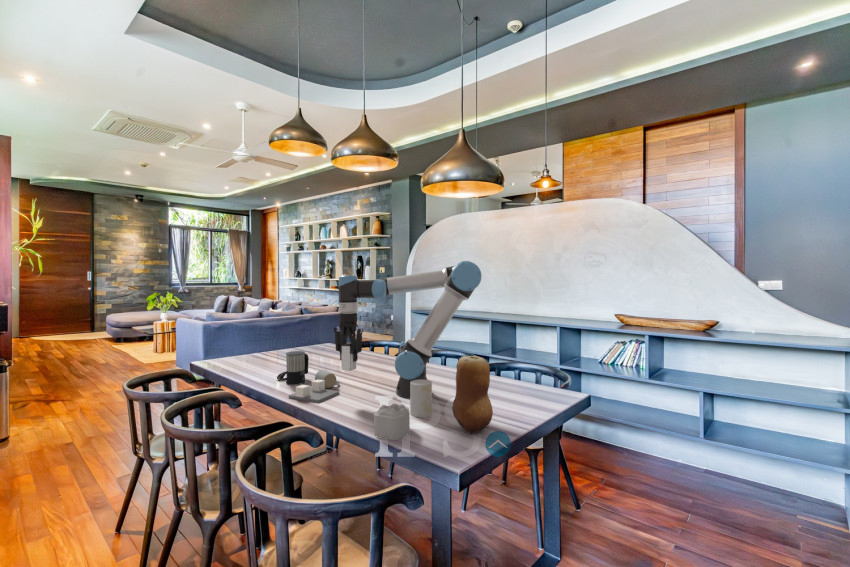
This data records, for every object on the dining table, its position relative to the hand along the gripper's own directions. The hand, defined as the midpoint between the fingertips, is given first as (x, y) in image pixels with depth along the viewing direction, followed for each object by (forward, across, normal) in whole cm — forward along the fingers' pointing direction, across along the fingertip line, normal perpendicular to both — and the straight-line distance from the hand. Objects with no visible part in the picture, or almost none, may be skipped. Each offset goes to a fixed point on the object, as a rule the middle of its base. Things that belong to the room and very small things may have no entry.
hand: (348, 368), depth 173 cm
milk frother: (+14, -46, +15) cm, 50 cm away
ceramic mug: (+14, -23, +15) cm, 31 cm away
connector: (0, 0, 0) cm, 0 cm away
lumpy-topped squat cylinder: (+14, +33, -21) cm, 42 cm away
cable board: (+14, -18, 0) cm, 23 cm away
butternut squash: (+14, +57, -9) cm, 59 cm away
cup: (+14, +34, -1) cm, 37 cm away
